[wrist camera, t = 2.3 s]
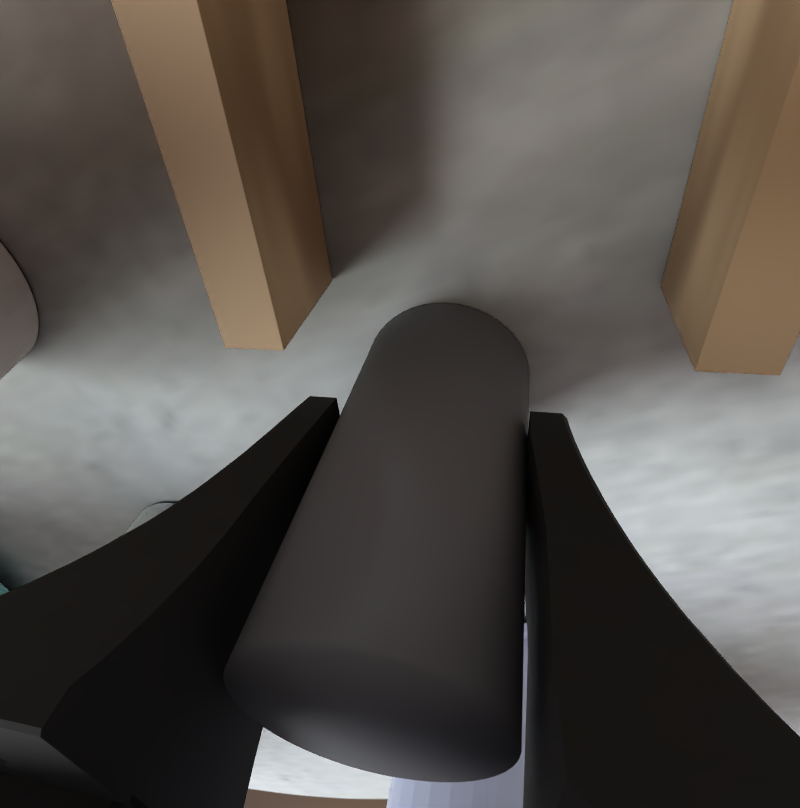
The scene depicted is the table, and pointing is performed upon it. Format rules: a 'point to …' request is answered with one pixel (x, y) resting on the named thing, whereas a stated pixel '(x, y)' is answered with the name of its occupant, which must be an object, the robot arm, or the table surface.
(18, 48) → the table surface
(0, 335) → the coffee cup
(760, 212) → the rack
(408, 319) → the dark grey cylinder
